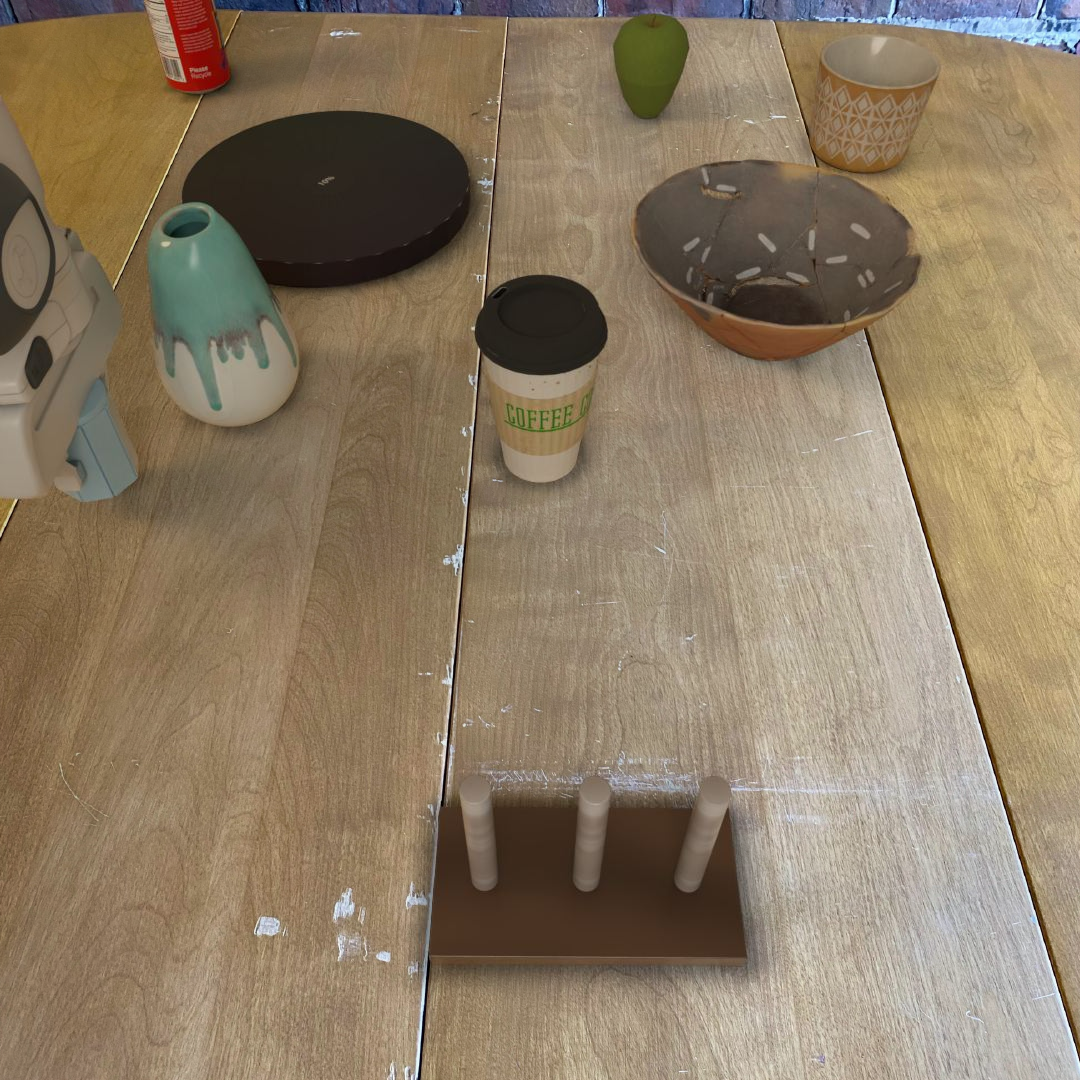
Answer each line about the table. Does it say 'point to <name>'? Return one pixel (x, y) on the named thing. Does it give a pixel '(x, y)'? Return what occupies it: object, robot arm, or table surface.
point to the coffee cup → (540, 370)
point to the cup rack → (586, 882)
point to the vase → (216, 321)
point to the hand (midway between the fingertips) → (88, 449)
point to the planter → (870, 100)
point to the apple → (650, 61)
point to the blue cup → (102, 449)
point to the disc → (335, 194)
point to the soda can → (189, 44)
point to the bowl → (775, 254)
